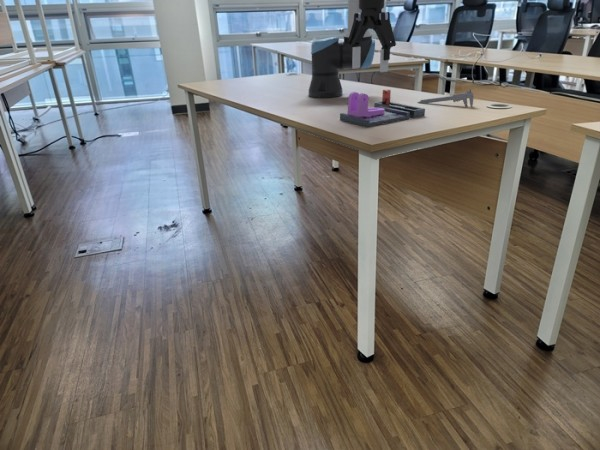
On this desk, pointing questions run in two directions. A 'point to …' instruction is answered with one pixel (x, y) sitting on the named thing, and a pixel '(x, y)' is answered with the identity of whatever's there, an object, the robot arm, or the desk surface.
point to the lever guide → (403, 109)
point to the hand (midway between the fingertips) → (369, 70)
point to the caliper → (453, 98)
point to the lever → (387, 97)
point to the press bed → (376, 117)
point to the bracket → (361, 106)
